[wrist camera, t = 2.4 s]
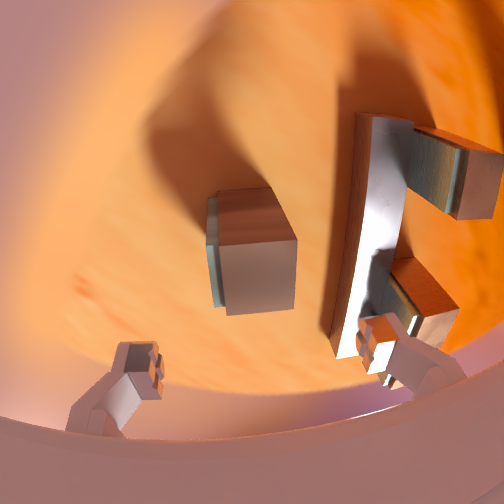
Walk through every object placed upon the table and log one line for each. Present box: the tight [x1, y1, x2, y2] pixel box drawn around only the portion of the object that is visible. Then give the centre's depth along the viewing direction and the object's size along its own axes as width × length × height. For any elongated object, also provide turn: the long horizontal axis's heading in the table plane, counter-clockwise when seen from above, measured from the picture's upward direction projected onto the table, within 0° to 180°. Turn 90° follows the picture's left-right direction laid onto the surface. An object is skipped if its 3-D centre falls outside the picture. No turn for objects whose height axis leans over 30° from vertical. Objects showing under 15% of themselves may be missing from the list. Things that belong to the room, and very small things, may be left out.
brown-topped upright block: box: [206, 187, 297, 316], centre depth 17 cm, size 4×4×7 cm
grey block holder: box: [329, 112, 504, 390], centre depth 19 cm, size 20×7×7 cm, turn 2°
